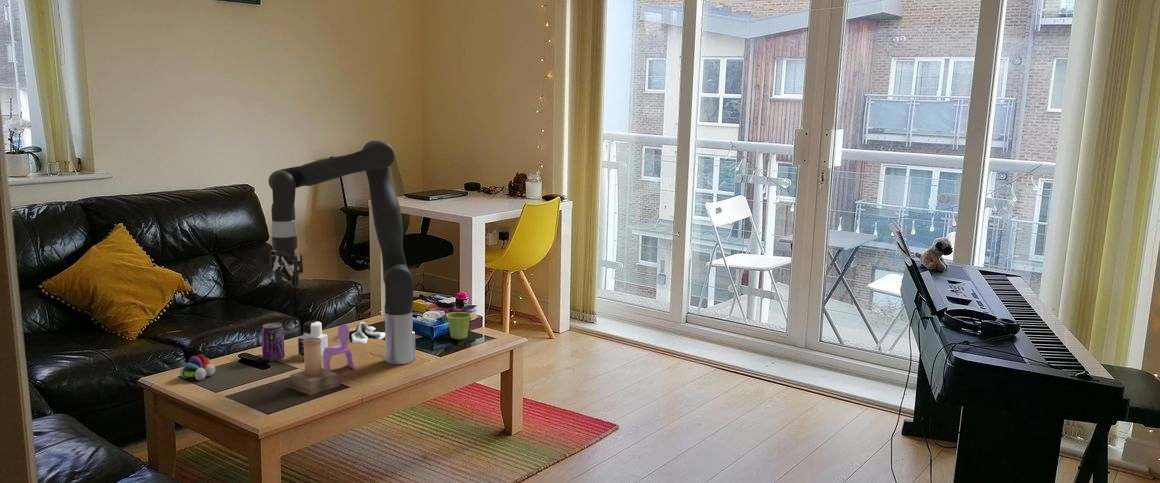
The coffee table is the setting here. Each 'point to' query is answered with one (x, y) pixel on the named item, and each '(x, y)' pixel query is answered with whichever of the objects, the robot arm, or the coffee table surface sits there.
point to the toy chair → (339, 348)
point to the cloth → (364, 333)
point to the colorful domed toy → (197, 368)
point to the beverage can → (273, 341)
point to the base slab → (314, 382)
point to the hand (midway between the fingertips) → (286, 284)
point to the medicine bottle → (311, 331)
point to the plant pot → (458, 324)
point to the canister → (312, 357)
